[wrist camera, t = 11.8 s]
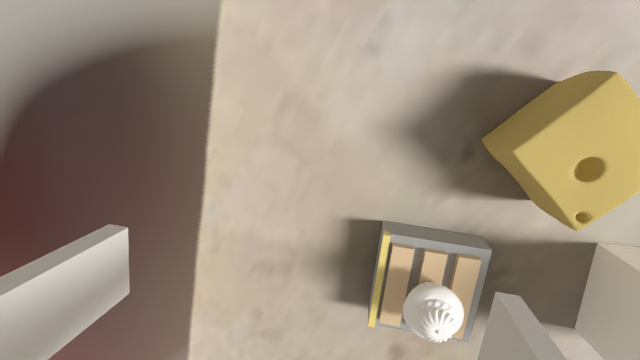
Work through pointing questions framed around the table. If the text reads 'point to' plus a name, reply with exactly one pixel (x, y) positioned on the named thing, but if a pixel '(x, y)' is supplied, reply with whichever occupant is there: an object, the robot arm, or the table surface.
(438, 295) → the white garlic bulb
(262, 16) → the table surface
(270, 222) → the table surface
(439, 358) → the table surface
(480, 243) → the dock
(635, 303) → the milk
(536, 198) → the cheese
